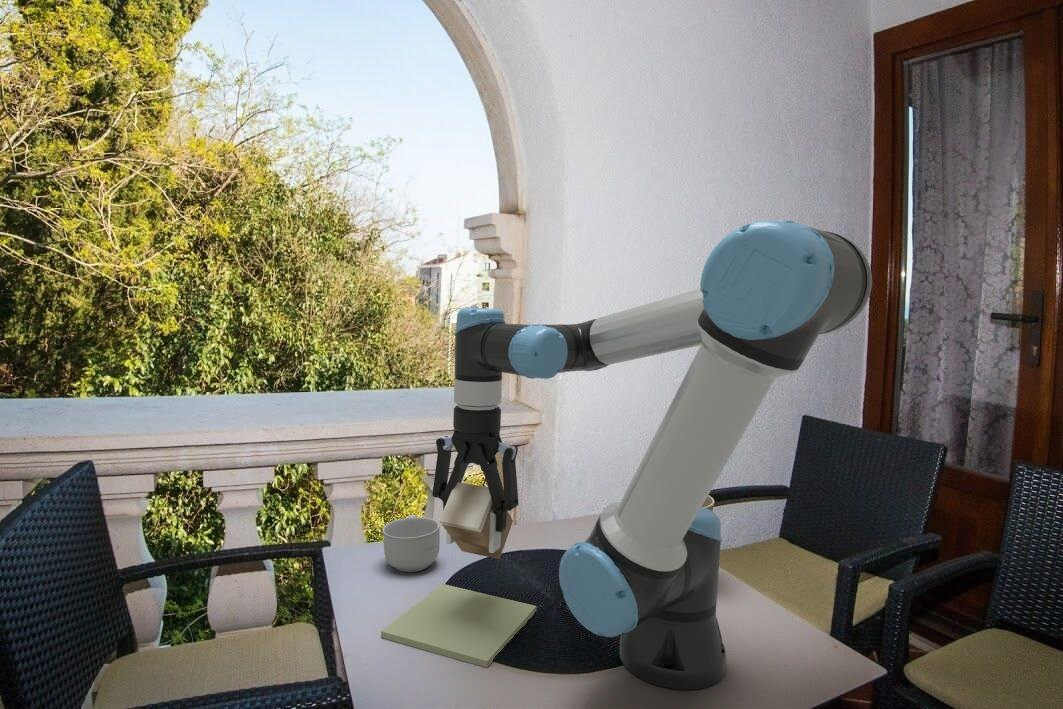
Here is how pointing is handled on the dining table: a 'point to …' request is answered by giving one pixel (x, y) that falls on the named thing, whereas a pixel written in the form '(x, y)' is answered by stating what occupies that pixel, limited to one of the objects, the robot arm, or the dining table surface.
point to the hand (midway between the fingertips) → (473, 545)
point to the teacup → (411, 543)
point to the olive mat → (460, 624)
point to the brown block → (472, 519)
